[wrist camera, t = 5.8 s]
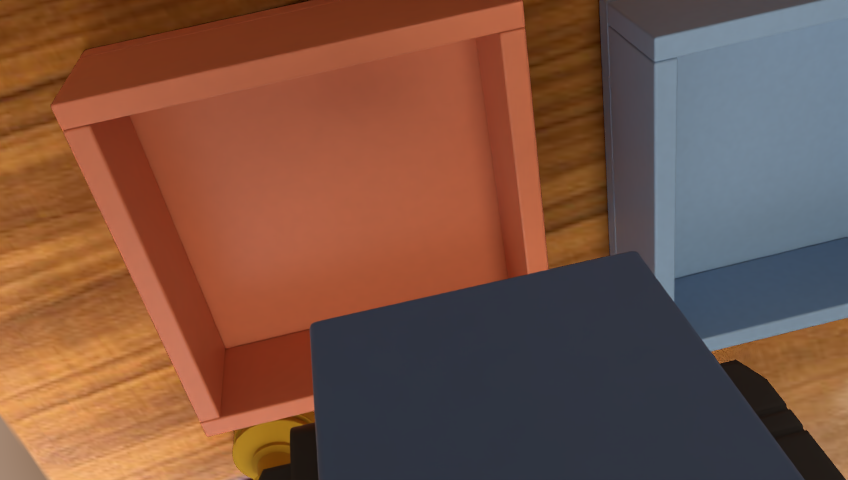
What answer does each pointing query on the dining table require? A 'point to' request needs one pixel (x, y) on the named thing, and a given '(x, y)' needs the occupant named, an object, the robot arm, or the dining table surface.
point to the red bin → (307, 177)
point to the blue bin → (731, 157)
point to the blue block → (534, 386)
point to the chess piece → (265, 444)
